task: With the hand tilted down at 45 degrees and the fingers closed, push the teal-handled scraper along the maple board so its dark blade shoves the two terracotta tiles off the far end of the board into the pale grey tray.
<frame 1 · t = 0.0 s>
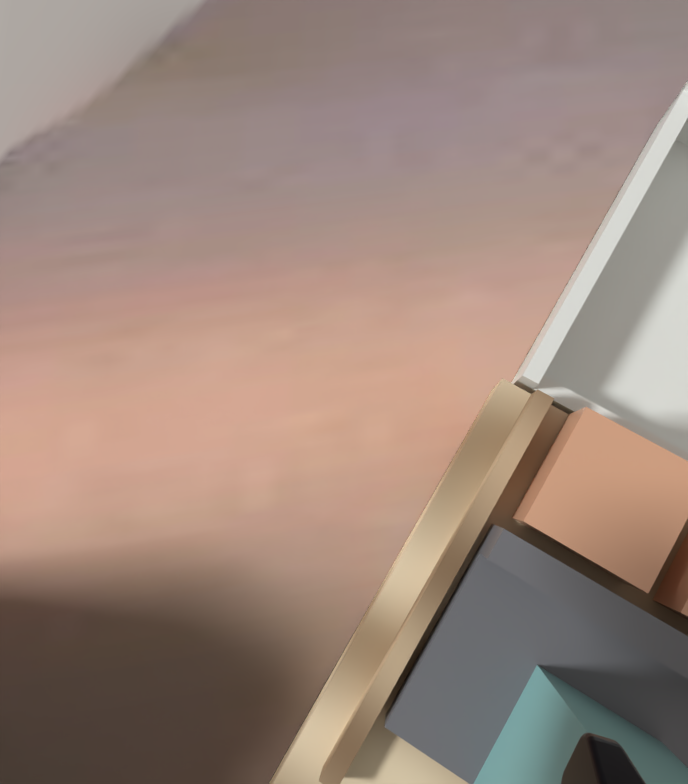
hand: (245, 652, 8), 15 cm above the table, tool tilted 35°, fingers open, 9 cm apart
tile a: (595, 496, 20), point 2 cm above the table, touching board
board: (525, 742, 21), on the table
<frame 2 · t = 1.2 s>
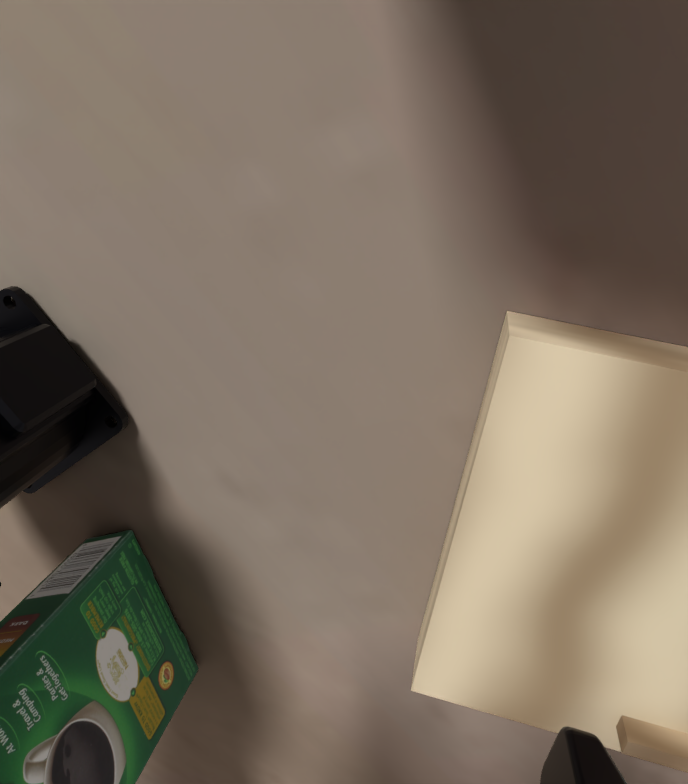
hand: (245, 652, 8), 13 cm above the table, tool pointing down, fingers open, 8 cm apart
coffee box 2: (146, 597, 27), on the table
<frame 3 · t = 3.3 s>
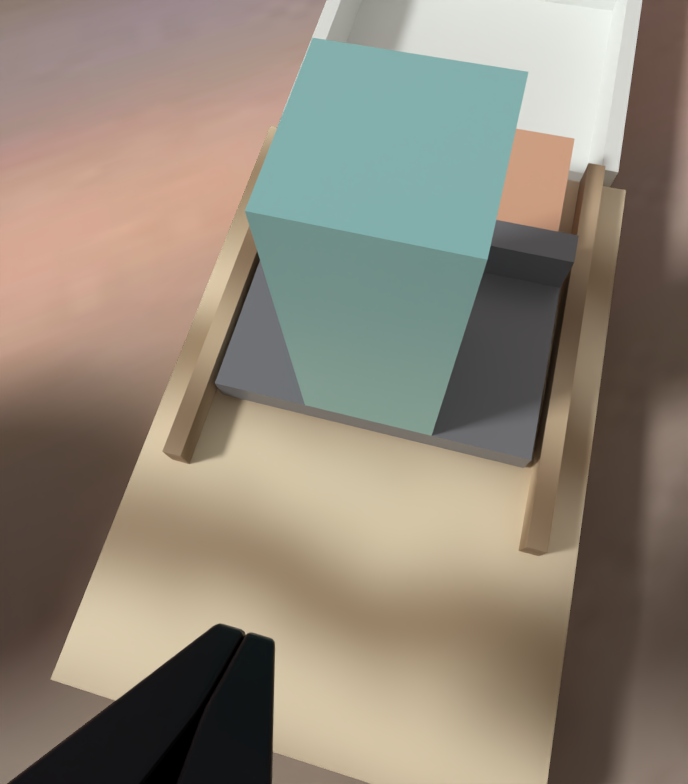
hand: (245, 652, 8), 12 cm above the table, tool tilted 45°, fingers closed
tray: (464, 86, 28), on the table
scraper: (399, 245, 16), point 8 cm above the table, slide at 0.0 cm
tile b: (496, 210, 22), point 2 cm above the table, touching board
board: (374, 426, 22), on the table
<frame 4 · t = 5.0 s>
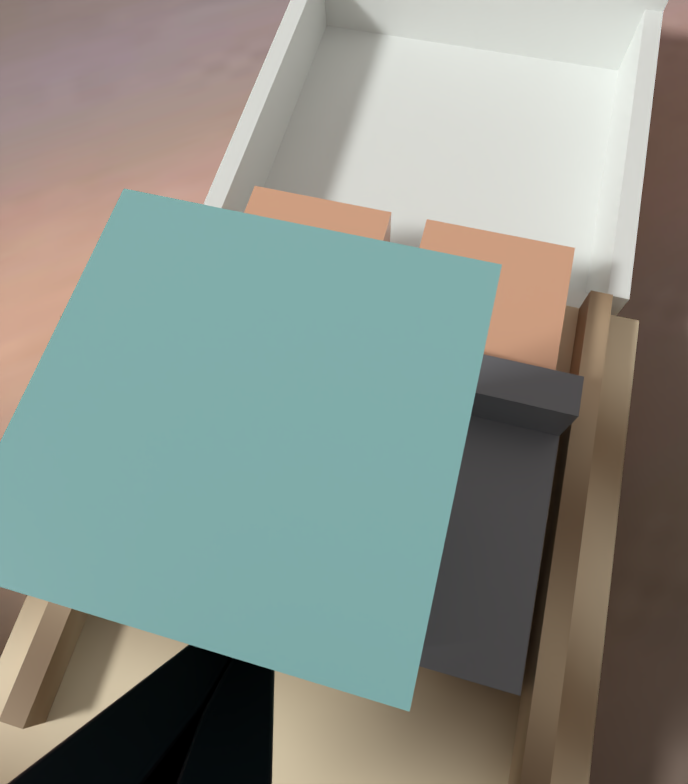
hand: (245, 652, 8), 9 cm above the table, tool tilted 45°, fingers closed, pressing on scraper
tray: (437, 164, 23), on the table
scraper: (326, 429, 11), point 8 cm above the table, slide at 1.0 cm, touching gripper, tile a, tile b
tile b: (474, 331, 17), point 2 cm above the table, touching board, scraper
tile a: (308, 295, 18), point 2 cm above the table, touching board, scraper
board: (312, 630, 17), on the table
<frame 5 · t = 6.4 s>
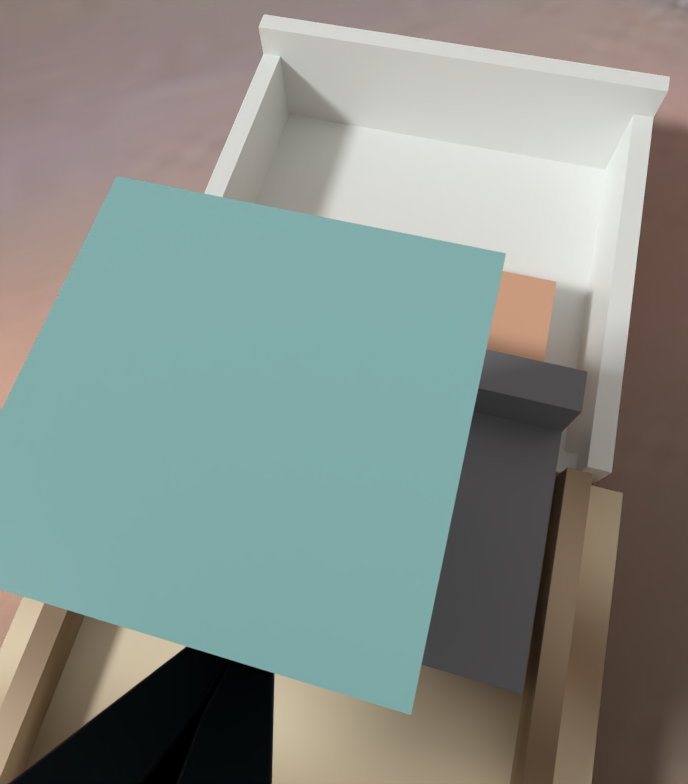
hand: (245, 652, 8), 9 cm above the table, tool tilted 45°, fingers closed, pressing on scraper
tray: (406, 275, 21), on the table
scraper: (326, 424, 11), point 8 cm above the table, slide at 6.3 cm, touching gripper, tile b
tile b: (465, 357, 19), point 1 cm above the table, touching scraper, tray
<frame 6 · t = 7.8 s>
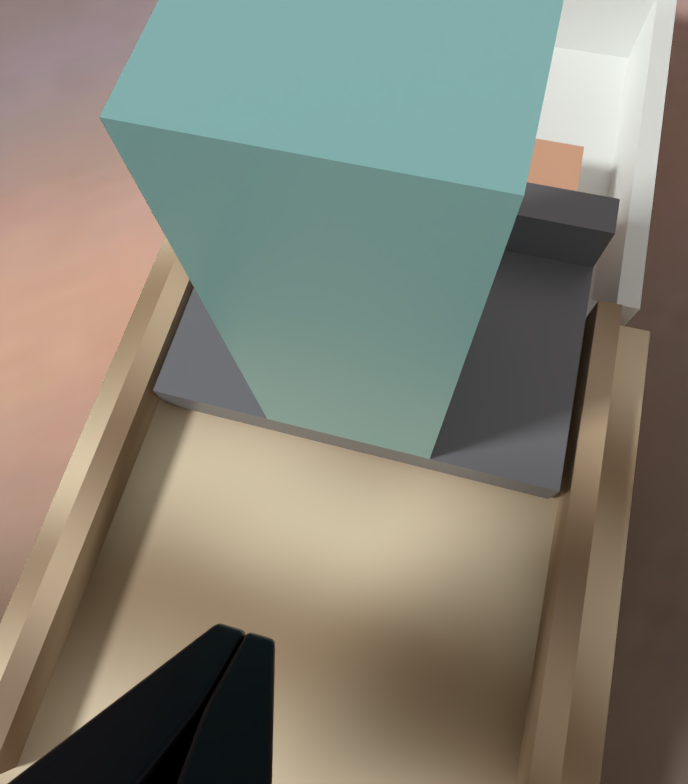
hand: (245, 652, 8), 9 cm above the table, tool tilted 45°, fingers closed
tray: (436, 159, 22), on the table
scraper: (384, 206, 11), point 8 cm above the table, slide at 6.3 cm, touching tile b
tile b: (494, 228, 20), point 1 cm above the table, touching scraper, tray
board: (301, 661, 16), on the table
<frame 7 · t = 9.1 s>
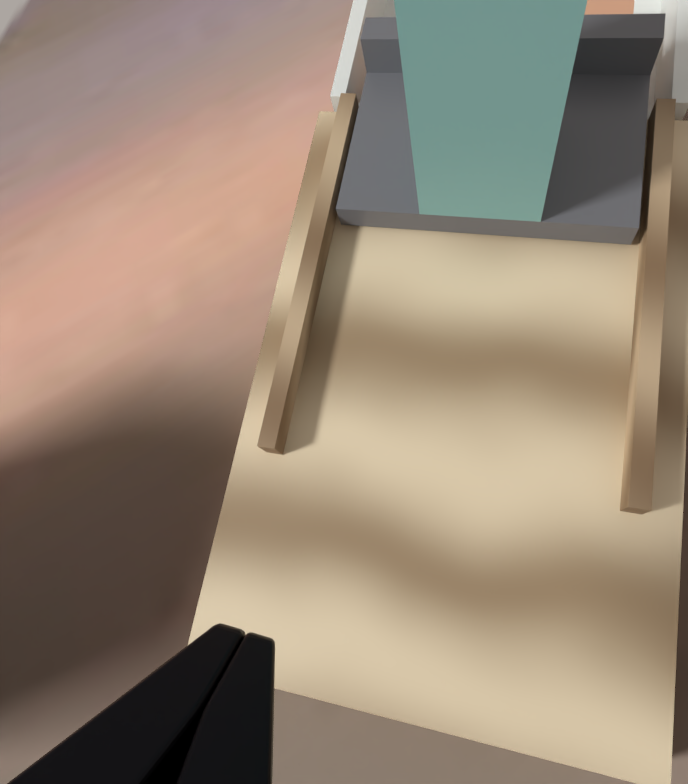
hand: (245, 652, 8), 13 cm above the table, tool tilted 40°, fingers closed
tray: (512, 35, 27), on the table
scraper: (498, 26, 17), point 8 cm above the table, slide at 6.3 cm, touching tile b
tile b: (567, 77, 25), point 1 cm above the table, touching scraper, tray
board: (457, 398, 22), on the table
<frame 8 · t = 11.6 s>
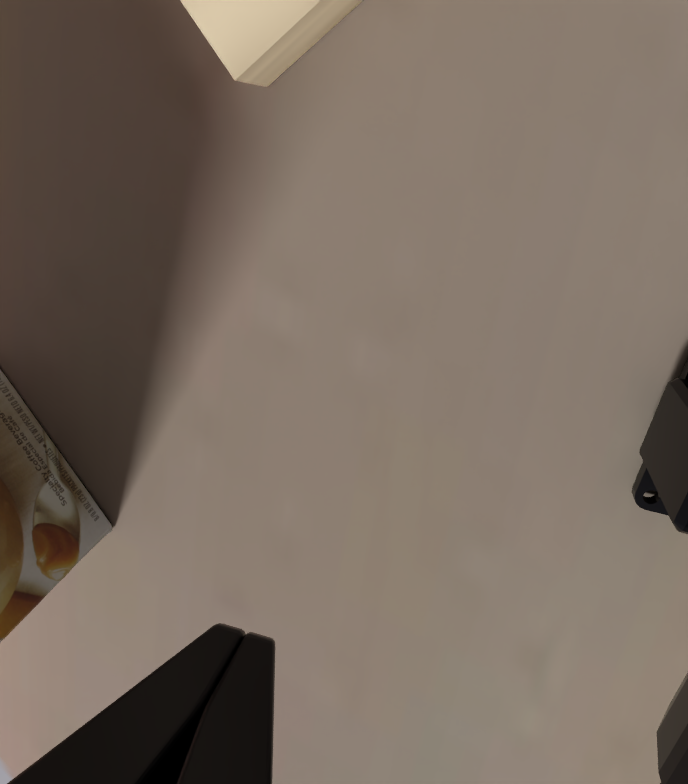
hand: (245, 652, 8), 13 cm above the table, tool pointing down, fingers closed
coffee box: (11, 463, 26), on the table
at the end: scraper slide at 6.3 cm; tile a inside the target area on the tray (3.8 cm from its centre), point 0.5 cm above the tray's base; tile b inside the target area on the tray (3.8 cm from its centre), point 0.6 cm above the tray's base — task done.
